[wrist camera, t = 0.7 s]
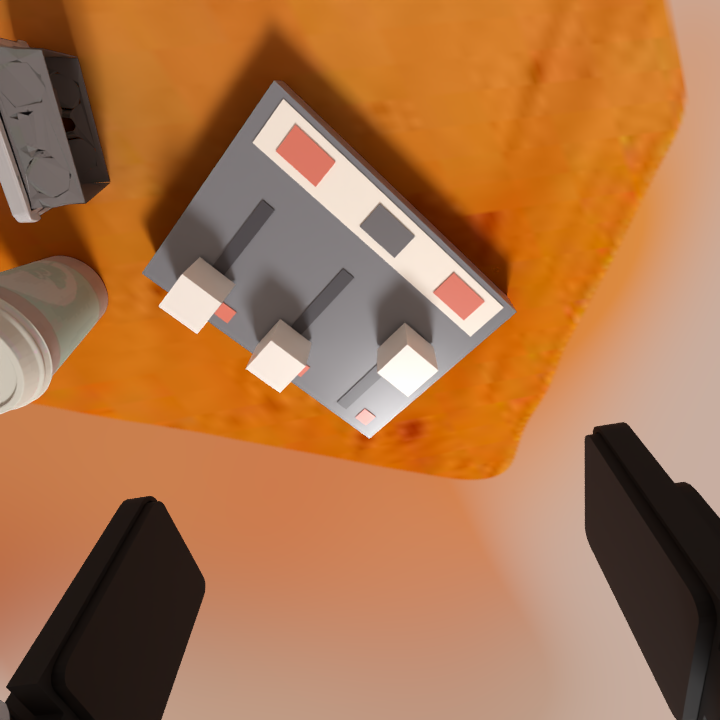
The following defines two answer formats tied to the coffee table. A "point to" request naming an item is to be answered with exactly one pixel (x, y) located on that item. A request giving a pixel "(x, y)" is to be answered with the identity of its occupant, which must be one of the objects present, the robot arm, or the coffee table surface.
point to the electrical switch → (45, 132)
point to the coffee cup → (43, 323)
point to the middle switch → (279, 356)
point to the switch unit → (327, 260)
